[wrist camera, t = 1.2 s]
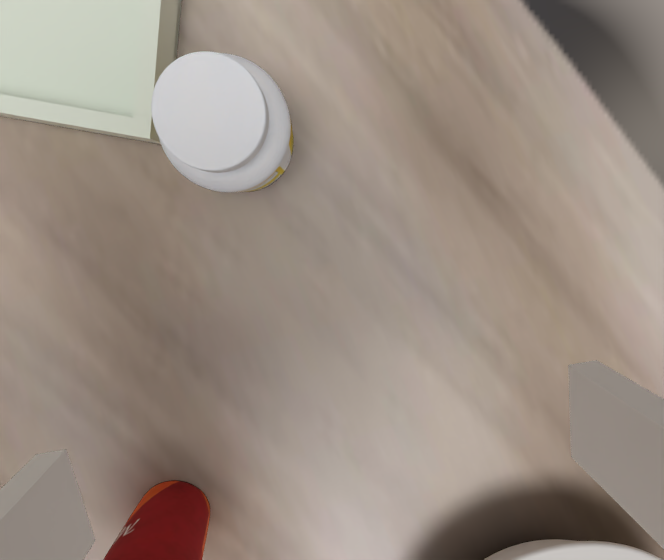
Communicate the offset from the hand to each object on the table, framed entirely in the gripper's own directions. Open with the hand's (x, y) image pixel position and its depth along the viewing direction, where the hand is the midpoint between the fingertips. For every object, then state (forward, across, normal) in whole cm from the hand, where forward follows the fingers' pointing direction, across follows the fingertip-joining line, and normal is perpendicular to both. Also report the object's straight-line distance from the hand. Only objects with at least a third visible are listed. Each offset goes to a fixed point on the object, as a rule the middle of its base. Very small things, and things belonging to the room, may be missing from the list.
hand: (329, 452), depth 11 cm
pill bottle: (+20, -3, +10) cm, 23 cm away
